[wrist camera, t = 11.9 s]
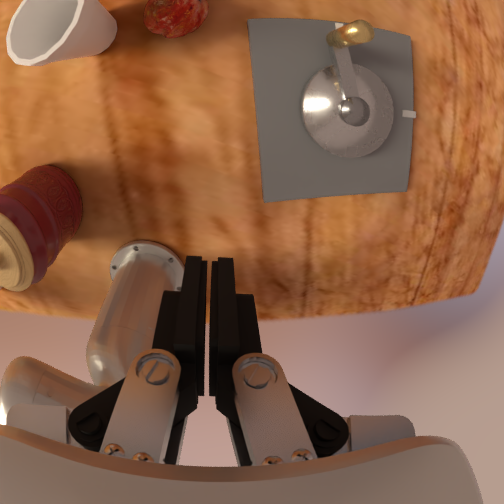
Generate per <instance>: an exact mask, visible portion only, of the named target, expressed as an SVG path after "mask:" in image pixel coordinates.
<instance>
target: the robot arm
mask: <svg viewBox="0 0 504 504" xmlns="http://www.w3.org/2000/svg"><path fill="white" fill-rule="evenodd" d="M110 275H111V279H112V281H113V282H112V284H111V286H110V288H109V291H108V293H107V295H106V298H105V300H104V302H103V305H102V307H101V310H100V312H99V315H98V317H97V320H96V322H95V325H94V327H93V330H92V333H91V335H90V338H89V341H88V344H87V349H86V361H87V366H88V369H89V372H90V375H91V378H92V380H93V382H94V385H93V384H91V383H86V382H84V381H82V380H79V379H77V378H75V377H73V376H71V375H68V374H66V373H64V372H62V371H60V370H58V369H55V368H54V367H52V366H50V365H48V364H46V363H44V362H41V361H39V360H37V359H34V358H32V357H27V356H26V357H25V356H22V357H18V358H16V359H14V360H13V361H12V362H11V363H10V364H9V365H8V367H7V369H6V371H5V373H4V375H3V378H2V382H1V386H0V504H483V501H482V497H481V493H480V490H479V487H478V484H477V481H476V478H475V475H474V473H473V470H472V468H471V466H470V463H469V461H468V459H467V457H466V455H465V454H464V452H463V451H462V449H461V448H460V446H459V445H458V444H457V443H455V442H454V441H452V440H450V439H447V438H443V437H438V436H415V430H414V427H413V424H412V423H411V421H410V420H409V419H408V418H406V417H404V416H400V415H388V416H361V415H359V416H358V415H350V416H349V417H341V416H340V415H339V414H337V413H335V412H334V411H332V410H330V409H329V408H327V407H325V406H324V405H322V404H321V403H319V402H317V401H316V400H314V399H313V398H311V397H309V396H308V395H306V394H305V393H303V392H302V391H300V390H298V389H297V388H295V387H294V386H292V385H291V384H289V383H288V382H287V379H286V377H285V374H284V372H283V369H282V367H281V366H280V364H279V363H278V362H277V361H276V360H275V359H274V358H272V357H270V356H268V355H266V354H262V348H261V342H260V335H259V328H258V322H257V315H256V308H255V302H254V296H253V294H236V291H235V277H234V263H233V258H222V257H218V261H212V273H211V296H210V330H209V331H210V333H209V396H215V401H216V408H217V410H219V411H220V412H221V413H222V414H223V415H225V416H226V419H227V424H228V428H229V433H230V437H231V441H232V445H233V448H234V452H235V456H236V460H237V464H238V467H201V466H200V467H199V466H183V465H179V459H180V454H181V449H182V444H183V439H184V433H185V429H186V424H187V418H188V415H189V414H190V413H191V412H193V411H194V410H195V409H197V404H198V396H204V364H205V359H204V358H205V324H206V285H207V261H202V256H187V257H186V263H185V267H184V265H183V263H182V262H181V260H180V259H179V258H178V256H177V255H176V254H175V253H174V252H172V251H171V250H170V249H168V248H167V247H165V246H163V245H161V244H158V243H155V242H151V241H143V240H141V241H133V242H130V243H127V244H125V245H124V246H122V247H121V248H120V249H119V250H117V252H116V253H115V255H114V257H113V259H112V261H111V264H110Z"/></svg>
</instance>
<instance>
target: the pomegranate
mask: <svg viewBox="0 0 504 504" xmlns="http://www.w3.org/2000/svg"><path fill="white" fill-rule="evenodd" d="M208 8H209V6H208V3H207V1H206V0H149V1H148V3H147V4H146V7H145V11H144V24H145V26H146V27H147V28H148V29H149V30H150V31H151V32H152V33H155V34H161V35H164V37H166V38H176V37H181V36H184V35H186V34H187V33H191V32H193V31H195V30H196V29H198V27H199V26H200V25H201V24H202V23H203V21H204V20H205V18H206V17H207V15H208Z"/></svg>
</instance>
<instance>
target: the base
mask: <svg viewBox="0 0 504 504" xmlns="http://www.w3.org/2000/svg"><path fill="white" fill-rule="evenodd" d="M347 24H349V23H342V22H334V21H325V20H312V19H292V18H261V19H248V21H247V26H248V36H249V46H250V56H251V66H252V76H253V86H254V97H255V108H256V119H257V131H258V142H259V154H260V166H261V179H262V192H263V200H264V203H266V202H276V201H285V200H295V199H306V198H317V197H329V196H342V195H356V194H371V193H389V192H407V187H408V178H409V170H410V160H411V148H412V132H413V118H416V111H413V64H412V49H411V38H410V36H407V35H404V34H400V33H396V32H392V31H387V30H383V29H378V28H373V29H374V32H375V35H374V38H373V40H372V41H370V42H366V43H361V44H357V45H353V46H349V47H348V49H349V53H350V57H351V61H352V64H357V65H360V66H363V67H365V68H367V69H369V70H371V71H372V72H373V73H375V74H376V75H377V76H378V77H379V78H380V79H381V80H382V81H383V83H384V84H385V85H386V87H387V89H388V91H389V93H390V95H391V98H392V102H393V110H394V117H393V123H392V127H391V130H390V132H389V134H388V136H387V138H386V140H385V141H384V142H383V143H382V144H381V145H380V147H378V148H377V149H376V150H375V151H373V152H371V153H370V154H367V155H365V156H361V157H356V158H346V157H340V156H337V155H334V154H332V153H330V152H328V151H327V150H325V149H324V148H322V147H321V146H319V145H318V144H317V143H315V142H314V141H313V140H312V139H311V137H310V136H309V135H308V133H307V132H306V130H305V128H304V126H303V124H302V121H301V117H300V111H299V102H300V96H301V92H302V90H303V87H304V85H305V84H306V82H307V81H308V79H309V78H310V77H311V76H312V75H313V74H314V73H315V72H317V71H318V70H320V69H322V68H324V67H326V66H329V65H332V61H331V57H330V53H329V49H328V46H327V42H326V35H327V34H328V33H329V32H331V31H333V30H335V29H337V28H340V27H342V26H344V25H347Z"/></svg>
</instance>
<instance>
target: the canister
mask: <svg viewBox="0 0 504 504" xmlns="http://www.w3.org/2000/svg"><path fill="white" fill-rule="evenodd" d="M82 212H83V207H82V200H81V196H80V193H79V190H78V188H77V186H76V184H75V183H74V181H73V180H72V179H71V177H70V176H69V175H68V174H67V173H66V172H64V171H63V170H61V169H60V168H58V167H55V166H51V165H43V166H38V167H34V168H32V169H30V170H29V171H27V172H26V173H24V174H23V175H22V176H21V177H20V178H18V179H17V180H15V181H13V182H12V183H10V184H8V185H6V186H4V187H3V188H1V189H0V286H2V287H4V288H6V289H8V290H11V291H23V290H25V289H27V288H28V287H29V286H30V285H32V284H35V283H37V282H39V281H40V280H41V279H42V278H43V277H44V275H45V273H46V271H47V268H48V267H49V266H50V265H52V264H53V262H54V261H55V259H56V258H57V255H58V254H59V252H60V251H61V250H62V248H63V247H64V246H65V245H66V243H68V242H69V241H70V240H71V239H72V238H73V236H74V235H75V233H76V232H77V230H78V227H79V225H80V222H81V219H82Z"/></svg>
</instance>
